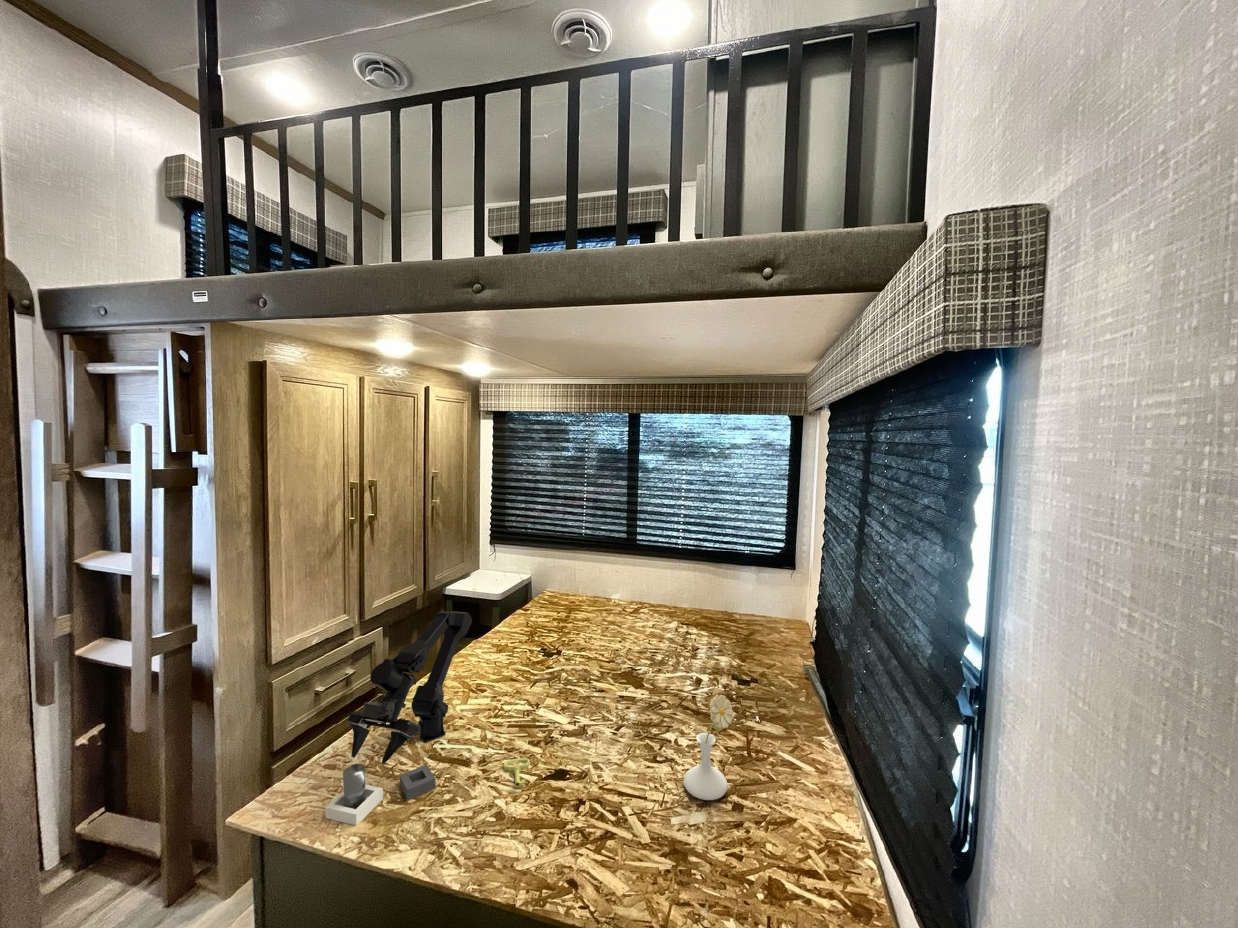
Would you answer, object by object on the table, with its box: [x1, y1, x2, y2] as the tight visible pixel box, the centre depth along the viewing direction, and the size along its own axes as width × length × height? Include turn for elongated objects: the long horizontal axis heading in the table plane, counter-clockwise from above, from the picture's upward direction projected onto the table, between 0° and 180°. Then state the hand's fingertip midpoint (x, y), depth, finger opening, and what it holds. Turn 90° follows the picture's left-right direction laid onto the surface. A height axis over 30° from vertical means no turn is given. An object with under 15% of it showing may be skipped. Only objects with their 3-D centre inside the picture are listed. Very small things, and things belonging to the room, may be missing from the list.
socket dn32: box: [399, 764, 437, 801], centre depth 132 cm, size 7×7×3 cm
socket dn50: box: [324, 784, 384, 826], centre depth 125 cm, size 9×9×3 cm
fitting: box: [342, 763, 367, 809], centre depth 125 cm, size 5×5×9 cm
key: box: [503, 757, 531, 788], centre depth 138 cm, size 7×12×2 cm, turn 31°
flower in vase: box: [683, 694, 734, 801], centre depth 131 cm, size 13×11×25 cm
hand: (367, 760), depth 129 cm, fingers open, 9 cm apart
